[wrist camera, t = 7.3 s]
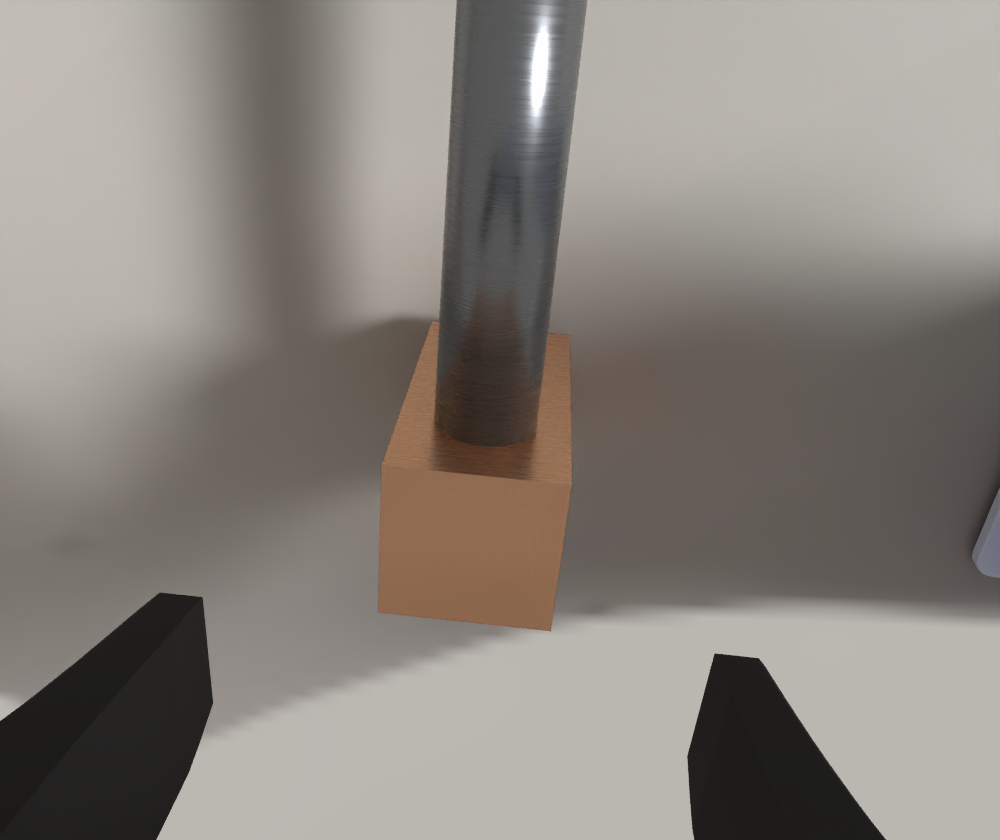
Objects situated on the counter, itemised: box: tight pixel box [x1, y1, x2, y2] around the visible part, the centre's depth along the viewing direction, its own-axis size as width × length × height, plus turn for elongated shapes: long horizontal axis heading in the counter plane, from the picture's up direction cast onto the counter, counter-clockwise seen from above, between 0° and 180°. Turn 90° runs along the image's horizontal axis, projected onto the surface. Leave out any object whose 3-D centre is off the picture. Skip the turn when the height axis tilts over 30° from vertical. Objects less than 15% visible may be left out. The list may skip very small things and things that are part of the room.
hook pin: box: [378, 0, 587, 631], centre depth 15 cm, size 13×3×6 cm, turn 175°
